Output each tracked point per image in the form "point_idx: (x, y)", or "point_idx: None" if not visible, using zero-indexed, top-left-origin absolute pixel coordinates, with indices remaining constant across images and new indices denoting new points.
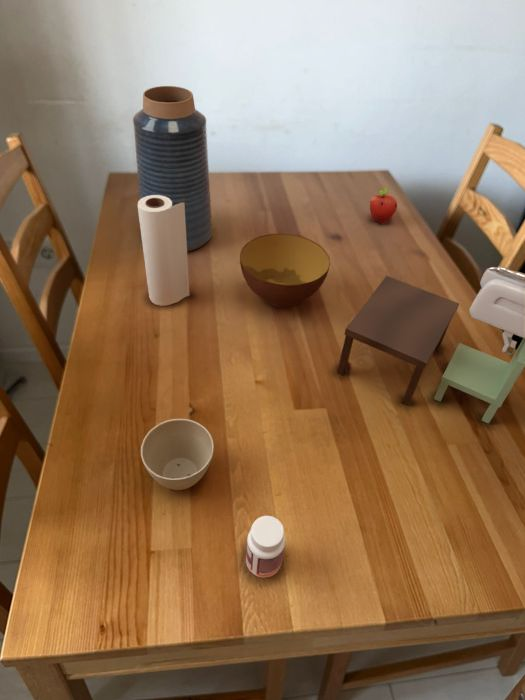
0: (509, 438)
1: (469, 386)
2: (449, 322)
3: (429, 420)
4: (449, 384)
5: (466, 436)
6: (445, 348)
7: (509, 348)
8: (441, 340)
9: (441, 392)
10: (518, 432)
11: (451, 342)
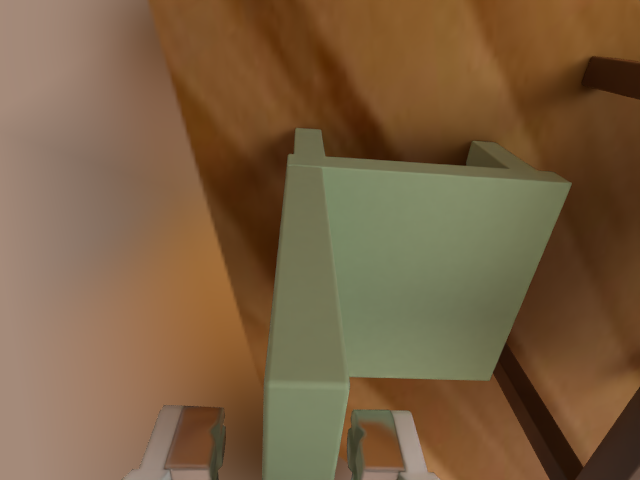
0: (213, 101)
1: (445, 188)
2: (614, 451)
3: (505, 26)
4: (518, 170)
5: (359, 20)
6: None
7: (390, 454)
8: (505, 369)
9: (501, 155)
10: (193, 146)
11: None
